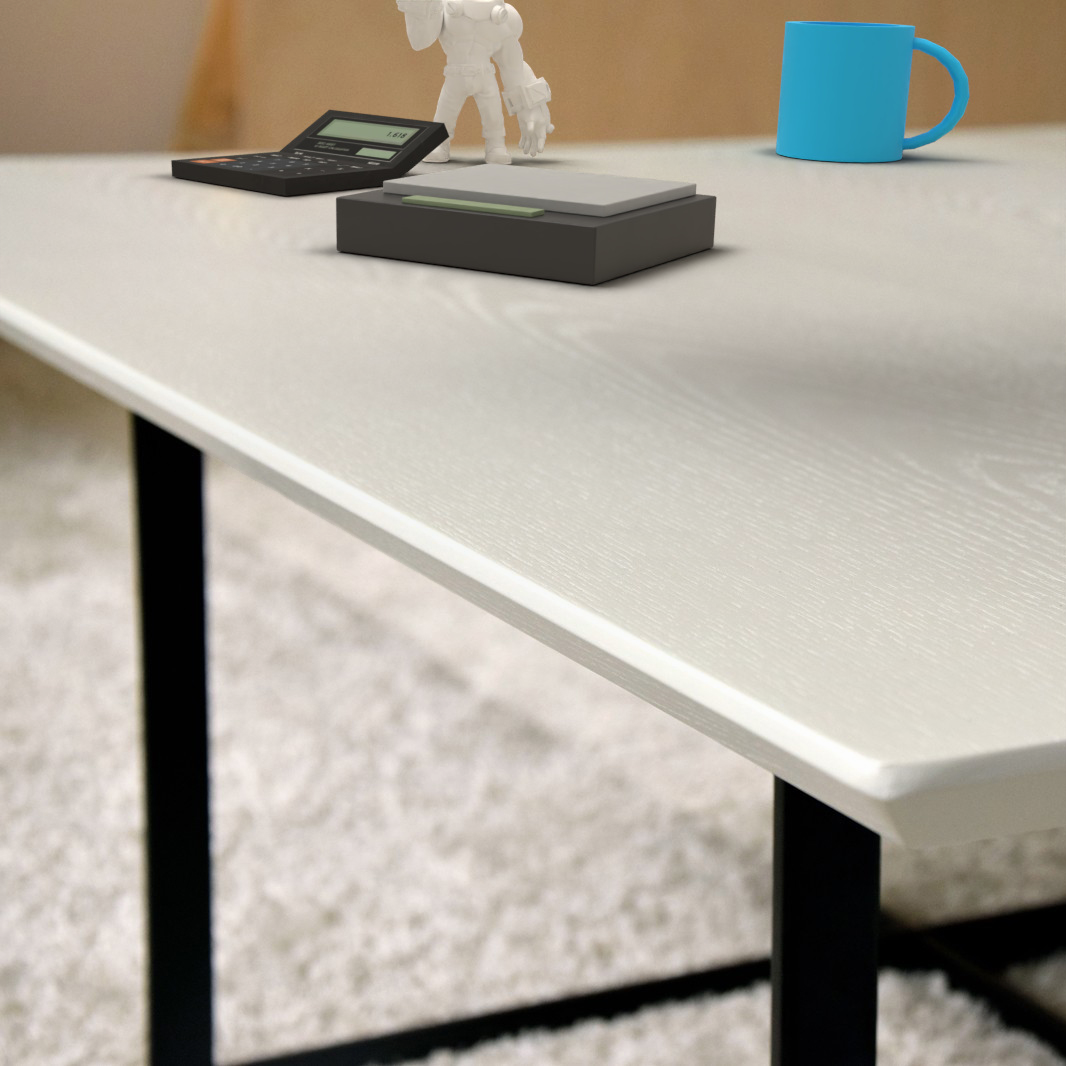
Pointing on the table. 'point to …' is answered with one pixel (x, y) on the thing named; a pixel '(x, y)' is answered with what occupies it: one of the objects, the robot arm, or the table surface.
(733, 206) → the table surface
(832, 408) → the table surface
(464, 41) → the figurine
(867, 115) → the mug
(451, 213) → the scale
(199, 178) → the calculator
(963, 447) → the table surface
